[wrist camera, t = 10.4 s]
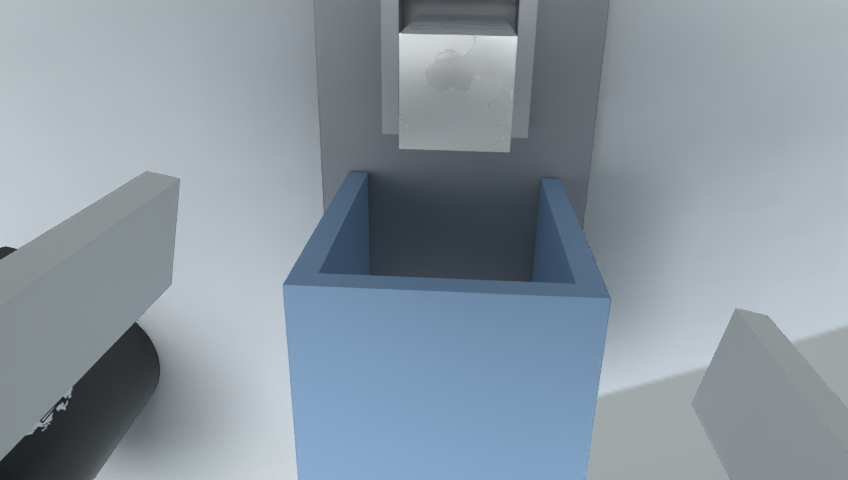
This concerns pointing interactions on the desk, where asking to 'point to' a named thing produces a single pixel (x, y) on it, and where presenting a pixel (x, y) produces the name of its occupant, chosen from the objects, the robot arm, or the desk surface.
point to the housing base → (458, 170)
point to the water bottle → (89, 416)
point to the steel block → (456, 83)
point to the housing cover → (443, 357)
